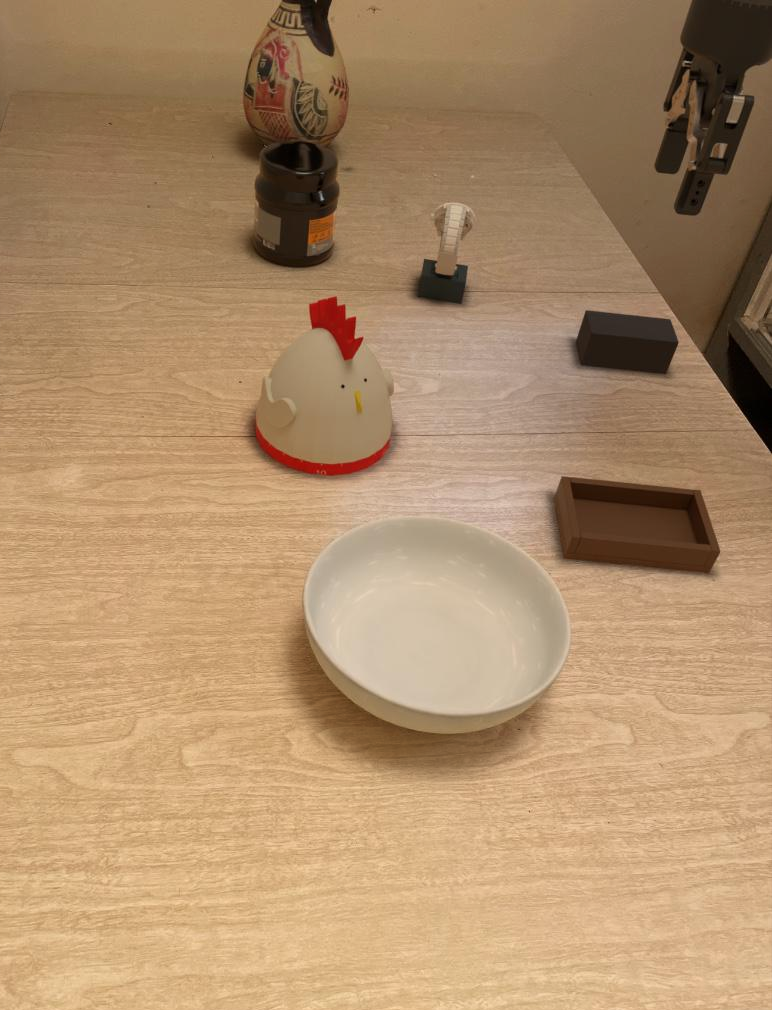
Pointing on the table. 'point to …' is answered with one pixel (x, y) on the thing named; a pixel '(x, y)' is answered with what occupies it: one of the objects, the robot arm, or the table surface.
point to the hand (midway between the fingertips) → (674, 191)
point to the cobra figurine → (447, 255)
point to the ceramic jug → (297, 77)
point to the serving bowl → (435, 623)
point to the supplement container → (296, 203)
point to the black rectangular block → (626, 342)
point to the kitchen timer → (326, 399)
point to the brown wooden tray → (635, 524)
